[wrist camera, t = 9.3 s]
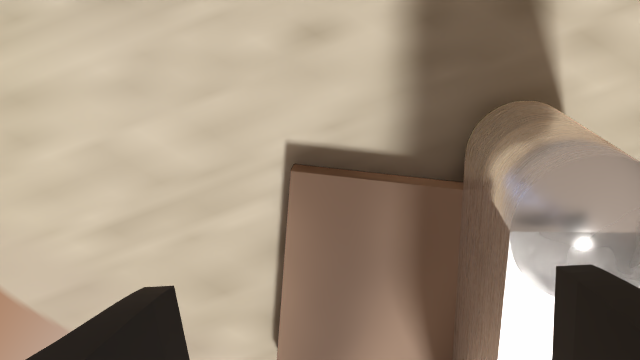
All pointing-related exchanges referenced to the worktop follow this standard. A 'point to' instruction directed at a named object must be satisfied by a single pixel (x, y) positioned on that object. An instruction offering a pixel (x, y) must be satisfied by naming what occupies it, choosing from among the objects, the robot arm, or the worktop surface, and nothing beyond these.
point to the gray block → (537, 225)
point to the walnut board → (369, 266)
